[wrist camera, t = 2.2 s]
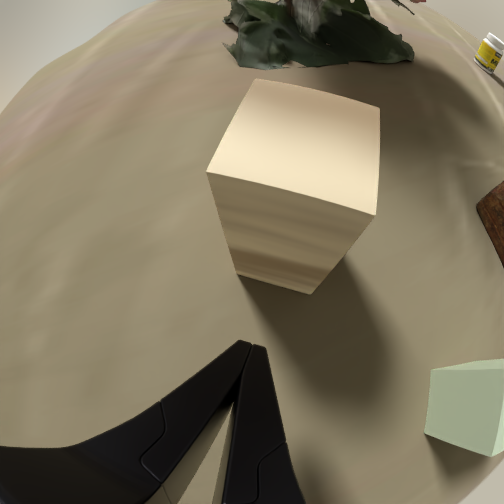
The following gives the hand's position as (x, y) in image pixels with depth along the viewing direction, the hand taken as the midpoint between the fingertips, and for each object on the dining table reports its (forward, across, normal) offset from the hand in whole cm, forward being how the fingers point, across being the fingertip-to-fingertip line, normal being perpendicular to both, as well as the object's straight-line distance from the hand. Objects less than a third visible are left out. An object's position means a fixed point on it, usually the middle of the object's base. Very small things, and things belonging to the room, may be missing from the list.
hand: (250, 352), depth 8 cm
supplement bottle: (+44, -30, -33) cm, 63 cm away
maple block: (+10, 0, +1) cm, 10 cm away
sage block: (+5, -14, +6) cm, 16 cm away
